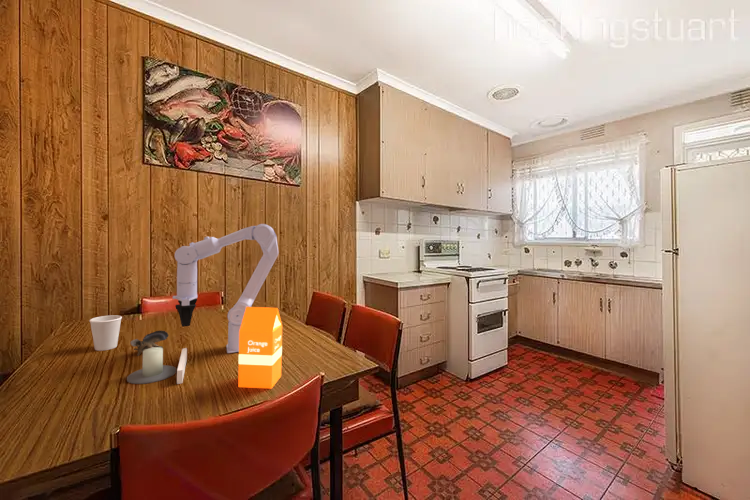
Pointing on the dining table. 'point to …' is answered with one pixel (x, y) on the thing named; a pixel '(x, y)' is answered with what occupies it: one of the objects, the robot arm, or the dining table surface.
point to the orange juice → (260, 348)
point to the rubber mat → (140, 379)
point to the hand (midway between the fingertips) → (186, 323)
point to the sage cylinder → (152, 361)
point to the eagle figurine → (149, 341)
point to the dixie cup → (105, 331)
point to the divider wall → (181, 366)
